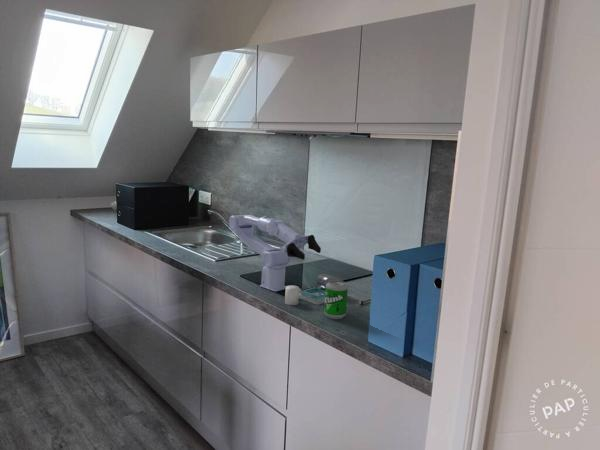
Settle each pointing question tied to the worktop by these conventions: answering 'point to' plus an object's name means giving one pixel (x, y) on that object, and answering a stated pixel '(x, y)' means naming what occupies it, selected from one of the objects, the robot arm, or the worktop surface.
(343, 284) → the soda can
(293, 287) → the grey rounded piece
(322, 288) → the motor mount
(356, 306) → the worktop surface
